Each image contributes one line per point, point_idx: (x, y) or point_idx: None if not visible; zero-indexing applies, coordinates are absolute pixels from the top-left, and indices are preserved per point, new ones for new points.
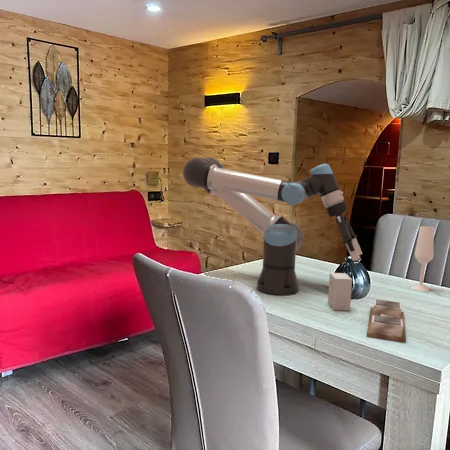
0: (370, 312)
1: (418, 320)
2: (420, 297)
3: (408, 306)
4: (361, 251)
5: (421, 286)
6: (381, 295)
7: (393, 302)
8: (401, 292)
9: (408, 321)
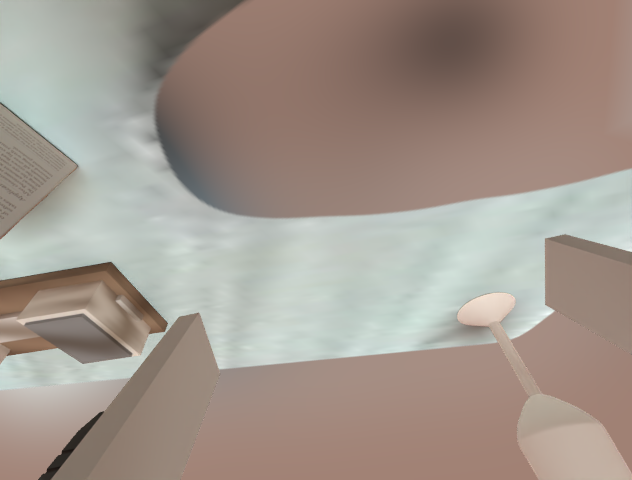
0: (46, 282)
1: None
2: (379, 322)
3: (261, 318)
4: (570, 316)
5: (477, 321)
6: (332, 250)
7: (110, 348)
8: (412, 284)
9: None
